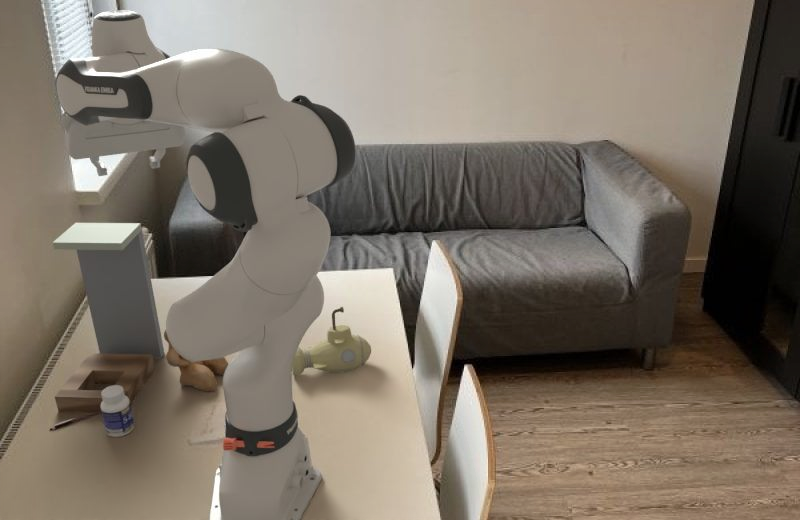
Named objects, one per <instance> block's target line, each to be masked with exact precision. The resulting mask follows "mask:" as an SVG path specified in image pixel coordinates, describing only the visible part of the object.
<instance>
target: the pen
mask: <svg viewBox="0 0 800 520" xmlns="http://www.w3.org/2000/svg"><path fill="white" fill-rule="evenodd" d="M99 414H102V412H101V411H96V412H89V413H88V414H85V415H82V416H78V417H76V418H75V417H74V418H70V419H67V420H64V421H61V422H58V423H56V424H54V425H53V426H52V427H50V428H49V430H50V431H51V430H53V431H54V430H57V429H60V428H63V427H65V426H68V425H72V424H74V423H77V422H80V421H83V420H86V419H88V418H89V419H90V418H91V417H94V416H96V415H99Z"/></svg>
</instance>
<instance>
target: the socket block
mask: <svg viewBox="0 0 800 520" xmlns="http://www.w3.org/2000/svg"><path fill="white" fill-rule="evenodd" d="M154 370H155V362H154V358H153V356H152V355H146V354H100V352H99V353H95V352H93V353H91V352H89V354H88V355H87V356H86V358H84V360H82V362H81V363H80V365H78V367H77V368H76V370H74V372H72V373H73V374H72V375H71V376H70V377H69V378H68V379H67V380H66V382H65V383H64V385H62V387H61V388H60V389H59V391H58V392H57V393H56V394H55V395H54V400H55V403H56V408H57V412H71V413H72V412H74V413H75V412H76V413H77V412H78V413H79V412H80V413H93V412H96V411H101V407H100V406H101V402H102V401H103V399H102V395H101V392H102V391H103V390H99V389H98V390H97V389H96V390H95V389H94V390H93V388H94V387H95V386H96V385H107V386H108V385H109V386H113V385H119V386H122V387H123V390H124V395H125V396H127V397H128V398H129V401H130V406H132V404H133V403H134V401H135V399H136V398H137V396H138V395H139V394H140V392H141V390H142V389H143V387H144V386H145V384H146V383H147V381H148V380H149V378H150V376H151V375H152V373H153V372H154Z"/></svg>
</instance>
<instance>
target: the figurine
mask: <svg viewBox="0 0 800 520" xmlns="http://www.w3.org/2000/svg"><path fill="white" fill-rule="evenodd" d="M163 338H164V340H165V341H166V342H167V343H168V351H167V353H166V355H165V358H166V362H167V364H168V365H170V366H172V367H174V368H175V367H177V368H178V369H179V371H180V376H179V383H180V385H182V386H192V387H194V388H196V389H199V390H200V391H203V392H214V391H216V390H217V388H218V383H217V378H216V376H215V375H218V376H224V373H225V370H226V368H227V366H228V365H229V362H228V361H227V359H226V356H225V357H221V358H216V359H211V360H204V361H197V362H191V361H188V360H186V359H185V358H183V357H182V356H180V355H179V354H178V353H177V352H176V351H175V350H174V348H173V347H172V346H171V344H170V342H169V339H168V336H167V332H166V329H165V330H164V332H163Z"/></svg>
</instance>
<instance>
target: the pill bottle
mask: <svg viewBox="0 0 800 520" xmlns="http://www.w3.org/2000/svg"><path fill="white" fill-rule="evenodd" d="M101 395H102V399H103V401H102V402H101V406H100V407H101V412H102V413H101V416H102V420H103V424H104V429H105V433H106V434H107V435H108V436H110V437H113V438H119V437H123V436H125V435H128V434H129V433H131V432H132V431H133V430H134V428H135V421H134V417H133V411H132V407H131V406H132V405H131V406H130V401H129V398H128V397H127V396H125V395H124V390H123V387H122V386H119V385H109V386H107V387H105V388H104V389H103V390H102V392H101Z"/></svg>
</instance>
